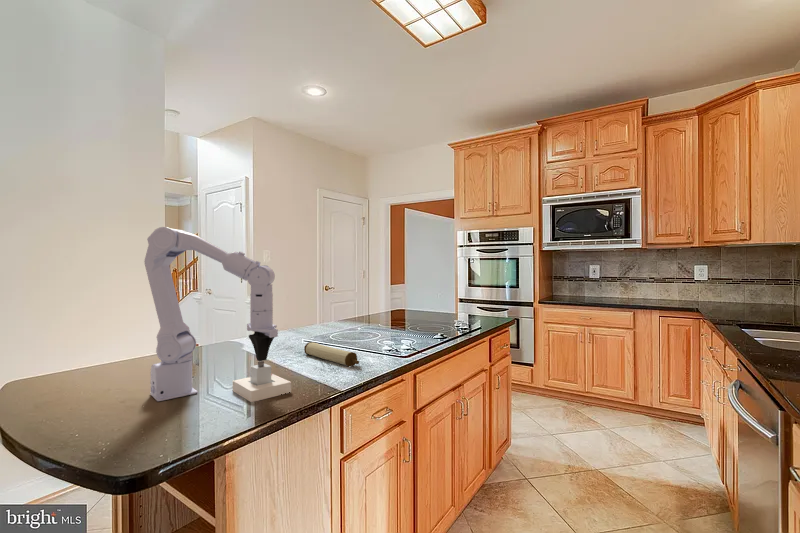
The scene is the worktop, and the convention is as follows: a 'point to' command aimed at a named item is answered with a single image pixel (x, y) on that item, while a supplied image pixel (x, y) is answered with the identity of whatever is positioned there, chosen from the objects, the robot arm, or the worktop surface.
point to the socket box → (261, 388)
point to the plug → (260, 373)
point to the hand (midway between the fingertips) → (261, 360)
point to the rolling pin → (331, 354)
